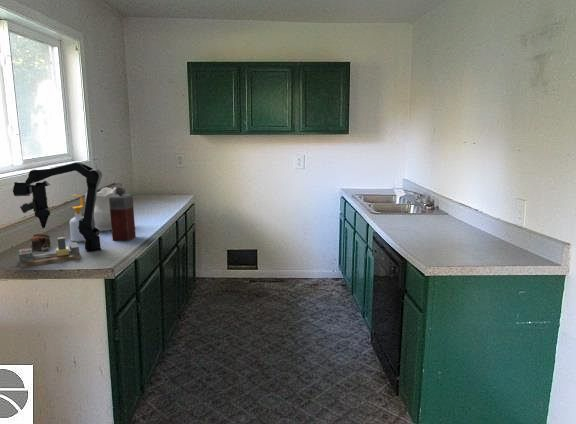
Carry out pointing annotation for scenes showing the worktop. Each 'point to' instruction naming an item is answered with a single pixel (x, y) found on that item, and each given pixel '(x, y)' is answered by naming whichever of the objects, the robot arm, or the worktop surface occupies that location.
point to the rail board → (47, 256)
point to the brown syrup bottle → (122, 216)
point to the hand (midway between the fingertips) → (43, 227)
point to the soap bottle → (76, 223)
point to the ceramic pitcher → (103, 209)
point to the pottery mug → (40, 241)
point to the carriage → (62, 247)
